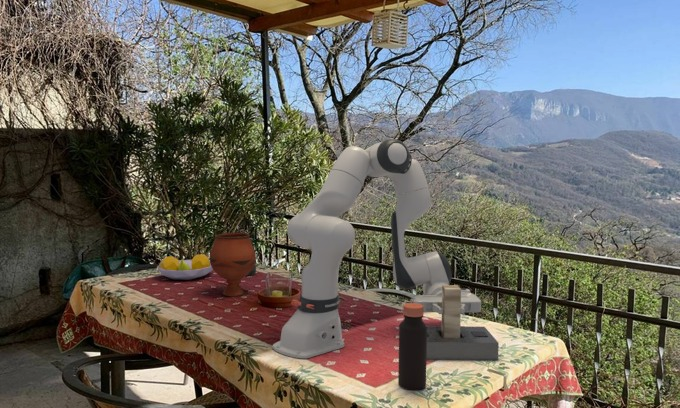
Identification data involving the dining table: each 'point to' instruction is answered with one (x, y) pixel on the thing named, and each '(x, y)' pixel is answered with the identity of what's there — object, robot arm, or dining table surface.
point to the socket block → (461, 345)
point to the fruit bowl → (185, 267)
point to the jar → (252, 271)
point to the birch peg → (451, 311)
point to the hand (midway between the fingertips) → (451, 311)
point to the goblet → (232, 259)
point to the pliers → (341, 298)
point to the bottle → (412, 348)
